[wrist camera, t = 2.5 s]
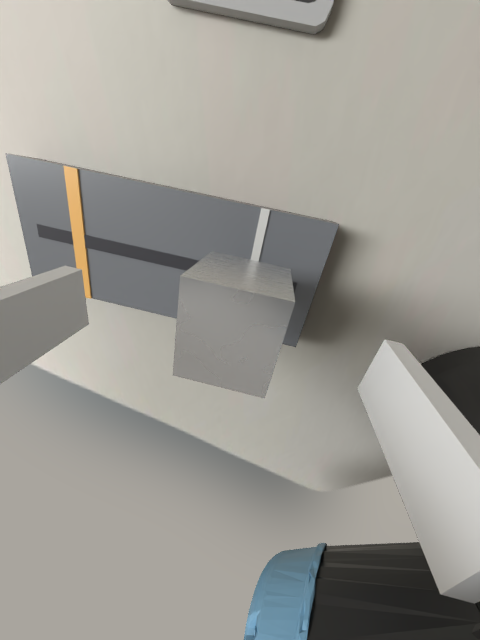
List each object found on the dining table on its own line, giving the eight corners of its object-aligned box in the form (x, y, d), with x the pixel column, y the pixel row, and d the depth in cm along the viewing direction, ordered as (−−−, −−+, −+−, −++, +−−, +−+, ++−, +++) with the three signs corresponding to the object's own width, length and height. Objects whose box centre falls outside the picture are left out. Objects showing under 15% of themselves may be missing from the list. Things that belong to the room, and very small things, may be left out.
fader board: (332, 221, 19) (339, 224, 16) (294, 332, 23) (295, 347, 21) (36, 158, 20) (3, 152, 17) (56, 276, 24) (33, 284, 22)
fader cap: (288, 253, 17) (295, 302, 9) (271, 315, 20) (264, 398, 12) (226, 239, 18) (180, 275, 9) (217, 302, 20) (172, 375, 12)
